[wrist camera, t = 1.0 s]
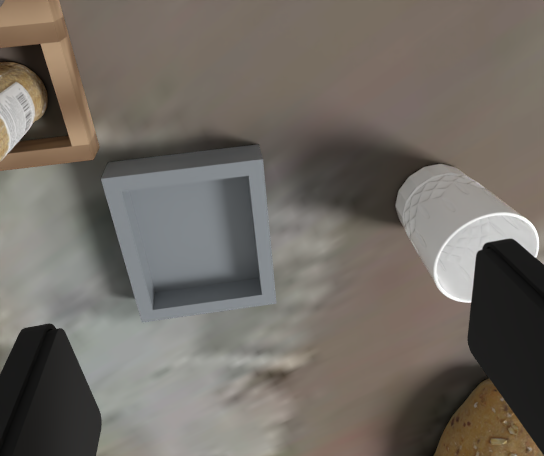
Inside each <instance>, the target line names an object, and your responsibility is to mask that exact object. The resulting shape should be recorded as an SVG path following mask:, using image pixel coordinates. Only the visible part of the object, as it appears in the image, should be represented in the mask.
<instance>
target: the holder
mask: <svg viewBox="0 0 544 456" xmlns="http://www.w3.org/2000/svg"><path fill="white" fill-rule="evenodd" d="M34 44H41V47H42V50H43V54H44V57H45V60H46V63H47V67H48V70H49V73H50V76H51V80H52V83H53V86H54V89H55V93H56V96H57V99H58V102H59V106H60V109H61V112H62V115H63V119H64V122H65V125H66V128H67V132H68V135H69V136H61V137H52V138H43V139H34V140H26V141H19V142H18V143H17V144H16V145H15V146H14V147H13V148H12V150H11V151H10V152H9V153H8V154H7V155H6V156H5V157H4V158H3V159H2V160H1V161H0V171H3V170H12V169H20V168H29V167H37V166H45V165H54V164H62V163H71V162H79V161H88V160H94V158H95V156H96V154H97V152H98V150H99V148H100V147H99V143H98V140H97V136H96V132H95V129H94V125H93V122H92V118H91V114H90V111H89V107H88V104H87V100H86V96H85V93H84V89H83V85H82V82H81V78H80V75H79V71H78V67H77V64H76V60H75V57H74V53H73V49H72V46H71V42H70V39H69V35H68V31H67V28H66V24H65V20H64V17H63V13H62V10H61V6H60V2H59V0H0V48H5V47H15V46H24V45H34Z"/></svg>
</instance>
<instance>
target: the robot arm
mask: <svg viewBox="0 0 544 456" xmlns="http://www.w3.org/2000/svg"><path fill="white" fill-rule="evenodd" d="M468 345H469V348H470V351H471V353H472V354H473V356H474V357H475V359H476V360H477V362H478V363H479V364H480V366H481V367H482V369H483V370H484V372H485V373H486V374H487V376H488V377H489V379H490V380H491V381H492V383H493V384H494V386H495V387H496V389H497V390H498V391H499V393H500V394H501V396H502V397H503V398H504V400H505V401H506V403H507V404H508V405H509V407H510V408H511V410H512V411H513V413H514V414H515V415H516V417H517V418H518V420H519V421H520V422H521V424H522V425H523V427H524V428H525V430H526V431H527V432H528V434H529V435H530V437H531V438H532V439H533V441H534V442H535V444H536V445H537V447H538V448H539V449H540V451H541V452H542V454H543V455H544V265H543V264H542V263H541V262H540V261H539V260H537V259H536V258H535V257H534V256H533V255H532V254H531V253H529V252H528V251H527V250H526V249H525V248H524V247H522V246H521V245H520V244H519V243H518V242H517V241H515V240H514V239H510V238H509V239H503V240H498V241H493V242H487V243H485V244H484V246H483V248H482V250H479V251H478V252H477V254H476V261H475V271H474V280H473V290H472V300H471V310H470V320H469V330H468ZM100 432H101V414H100V411H99V408H98V406H97V404H96V402H95V399H94V397H93V395H92V392H91V390H90V388H89V386H88V383H87V381H86V379H85V376H84V374H83V372H82V370H81V367H80V365H79V363H78V360H77V358H76V356H75V354H74V351H73V349H72V347H71V345H70V342H69V340H68V338H67V335H66V333H65V331H64V330H63V329H61V328H60V329H56V328H55V326H54V325H53V324H44V325H39V326H34V327H28V328H24V329H22V330H21V332H20V333H19V335H18V337H17V340H16V342H15V344H14V346H13V348H12V350H11V352H10V355H9V357H8V359H7V361H6V363H5V365H4V368H3V370H2V372H1V374H0V456H96V452H97V447H98V442H99V437H100Z"/></svg>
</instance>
